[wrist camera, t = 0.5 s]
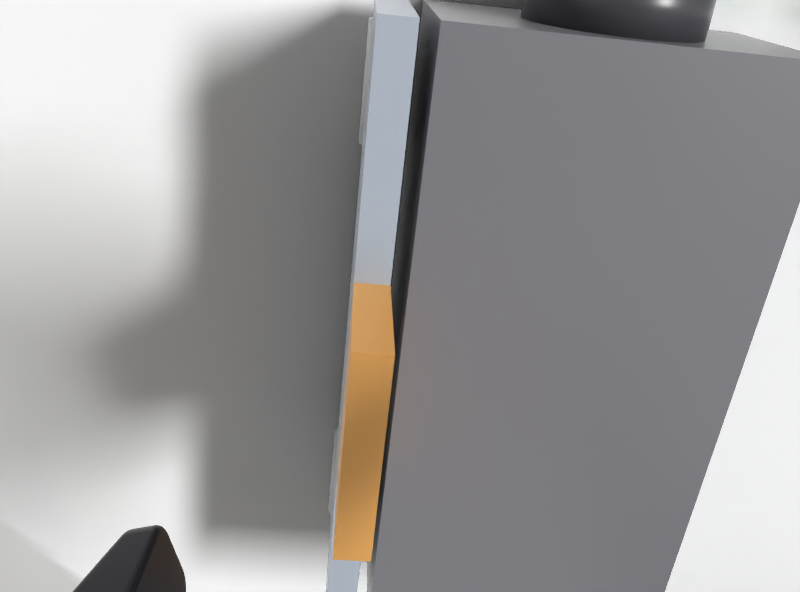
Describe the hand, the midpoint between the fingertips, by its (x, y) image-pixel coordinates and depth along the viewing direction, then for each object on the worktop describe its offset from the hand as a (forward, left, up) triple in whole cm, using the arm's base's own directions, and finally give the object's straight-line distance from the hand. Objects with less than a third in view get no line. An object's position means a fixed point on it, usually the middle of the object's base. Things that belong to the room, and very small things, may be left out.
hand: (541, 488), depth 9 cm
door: (-4, +2, -12) cm, 13 cm away
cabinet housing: (-4, -3, -13) cm, 14 cm away
